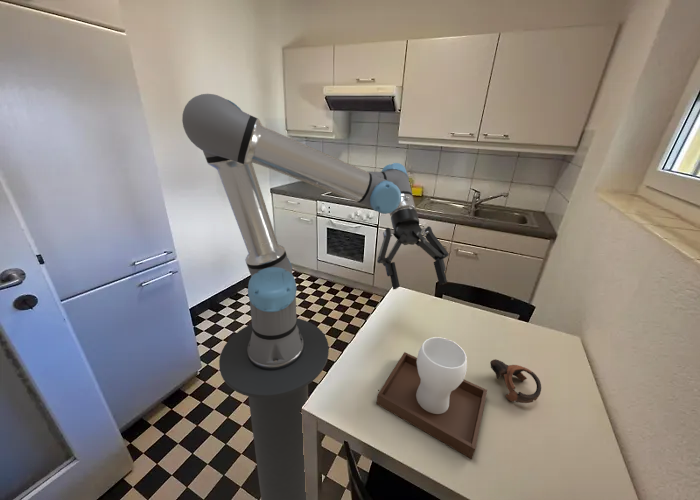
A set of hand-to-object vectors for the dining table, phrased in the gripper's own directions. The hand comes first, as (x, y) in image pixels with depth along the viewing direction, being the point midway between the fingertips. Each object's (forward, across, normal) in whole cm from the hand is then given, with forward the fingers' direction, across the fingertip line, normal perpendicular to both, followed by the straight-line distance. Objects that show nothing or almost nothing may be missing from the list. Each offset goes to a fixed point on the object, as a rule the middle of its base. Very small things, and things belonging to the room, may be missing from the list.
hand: (420, 286), depth 72 cm
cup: (+27, -1, +5) cm, 28 cm away
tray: (+27, -1, +5) cm, 28 cm away
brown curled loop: (+28, +21, +5) cm, 36 cm away
